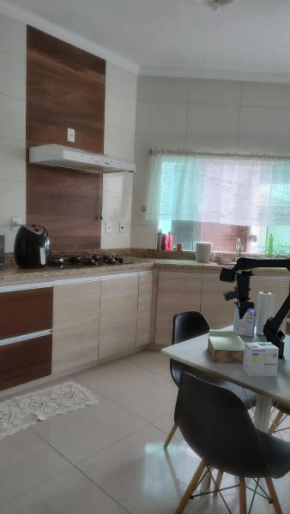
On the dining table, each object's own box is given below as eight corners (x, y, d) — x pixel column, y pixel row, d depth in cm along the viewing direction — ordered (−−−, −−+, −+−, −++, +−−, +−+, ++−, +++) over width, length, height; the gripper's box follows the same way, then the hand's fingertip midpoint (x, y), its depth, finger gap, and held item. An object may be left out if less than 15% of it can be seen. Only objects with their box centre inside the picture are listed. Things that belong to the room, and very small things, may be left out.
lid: (238, 337, 151) (238, 331, 150) (249, 351, 134) (249, 344, 134) (207, 335, 151) (207, 329, 151) (214, 349, 134) (214, 342, 134)
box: (237, 349, 151) (238, 338, 150) (247, 364, 135) (248, 352, 134) (207, 347, 151) (208, 336, 150) (214, 362, 135) (215, 350, 134)
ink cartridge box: (254, 334, 173) (256, 306, 171) (252, 337, 168) (255, 308, 166) (234, 330, 177) (236, 303, 175) (232, 333, 172) (234, 305, 170)
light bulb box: (268, 368, 132) (270, 341, 131) (277, 376, 125) (279, 348, 124) (241, 369, 130) (243, 341, 129) (249, 377, 124) (251, 348, 122)
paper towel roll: (253, 332, 175) (256, 291, 173) (262, 331, 178) (265, 291, 175) (263, 337, 169) (267, 294, 166) (272, 336, 171) (276, 293, 169)
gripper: (220, 280, 161) (218, 312, 163) (229, 288, 142) (226, 324, 144) (244, 281, 161) (241, 313, 162) (256, 289, 142) (253, 325, 144)
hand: (240, 319), depth 153 cm, fingers closed
